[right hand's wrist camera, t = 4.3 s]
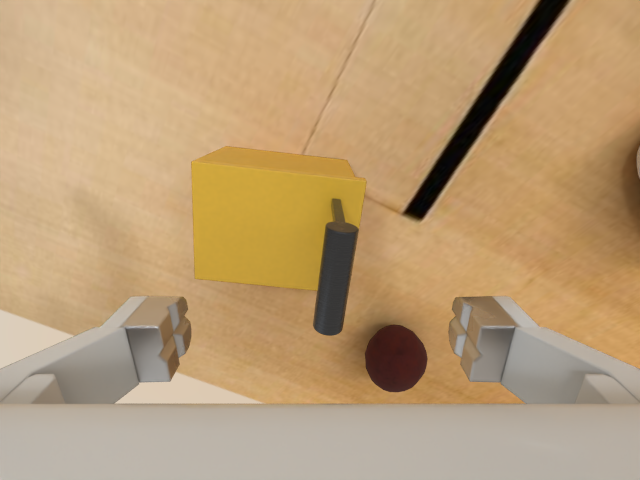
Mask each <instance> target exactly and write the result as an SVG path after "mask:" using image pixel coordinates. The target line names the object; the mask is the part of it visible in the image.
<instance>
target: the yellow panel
mask: <svg viewBox="0 0 640 480" xmlns="http://www.w3.org/2000/svg"><path fill="white" fill-rule="evenodd" d="M191 168H192V202H193V236H194V270H195V279H202V280H212V281H222V282H232V283H243V284H253V285H263V286H273V287H283V288H294V289H304V290H314V291H317V297H316V305H315V313H314V321H313V326H314V329H315V330H316V331H317V332H319V333H321V334H323V335H336V334H339V333H340V332H341V331H342V328H343V322H344V316H345V310H346V304H347V298H348V292H349V286H350V280H351V274H352V268H353V262H354V256H355V250H356V244H357V238H358V231H359V225H360V219H361V213H362V207H363V201H364V195H365V189H366V183H367V181H366V180H365V178H358V177H350V176H341V175H332V174H323V173H314V172H305V171H296V170H287V169H278V168H269V167H261V166H252V165H243V164H234V163H225V162H216V161H207V160H198V159H196V160H194V161H192V162H191Z"/></svg>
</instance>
